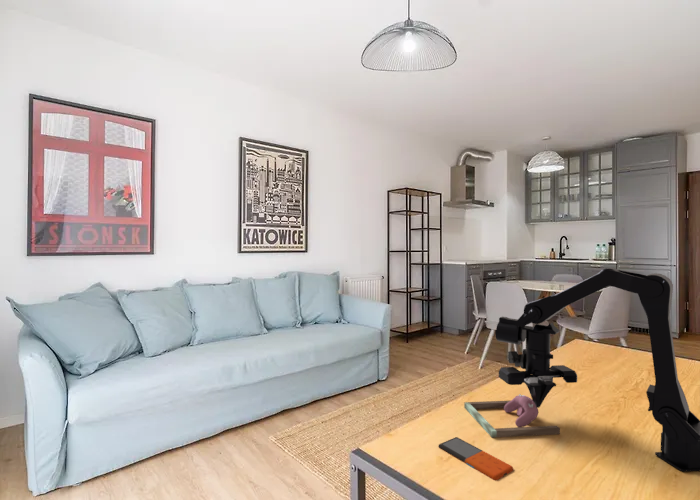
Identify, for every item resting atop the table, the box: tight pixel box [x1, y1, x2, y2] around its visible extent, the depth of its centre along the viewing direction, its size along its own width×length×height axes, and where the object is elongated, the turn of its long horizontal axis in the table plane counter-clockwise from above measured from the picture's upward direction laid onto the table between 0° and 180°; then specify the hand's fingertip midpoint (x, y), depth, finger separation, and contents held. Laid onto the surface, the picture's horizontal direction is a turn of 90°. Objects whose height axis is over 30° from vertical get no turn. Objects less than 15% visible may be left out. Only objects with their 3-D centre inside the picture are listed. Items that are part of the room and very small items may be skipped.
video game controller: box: [503, 393, 539, 427], centre depth 102 cm, size 10×5×7 cm, turn 177°
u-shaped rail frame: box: [463, 399, 561, 438], centre depth 101 cm, size 16×17×2 cm
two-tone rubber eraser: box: [438, 436, 514, 481], centre depth 84 cm, size 6×1×15 cm
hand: (536, 407), depth 102 cm, fingers closed
